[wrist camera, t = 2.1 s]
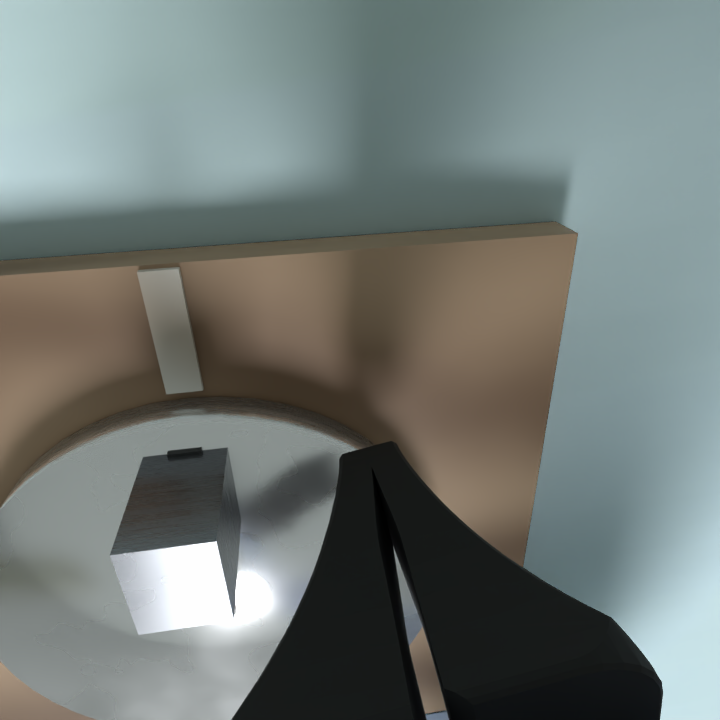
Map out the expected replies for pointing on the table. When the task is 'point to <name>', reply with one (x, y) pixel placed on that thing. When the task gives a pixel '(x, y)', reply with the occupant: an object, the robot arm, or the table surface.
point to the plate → (305, 359)
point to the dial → (167, 555)
